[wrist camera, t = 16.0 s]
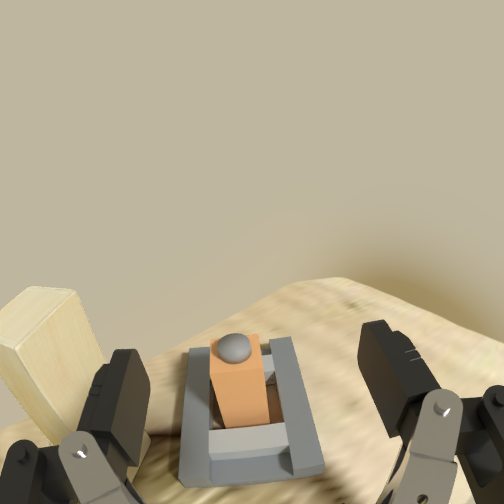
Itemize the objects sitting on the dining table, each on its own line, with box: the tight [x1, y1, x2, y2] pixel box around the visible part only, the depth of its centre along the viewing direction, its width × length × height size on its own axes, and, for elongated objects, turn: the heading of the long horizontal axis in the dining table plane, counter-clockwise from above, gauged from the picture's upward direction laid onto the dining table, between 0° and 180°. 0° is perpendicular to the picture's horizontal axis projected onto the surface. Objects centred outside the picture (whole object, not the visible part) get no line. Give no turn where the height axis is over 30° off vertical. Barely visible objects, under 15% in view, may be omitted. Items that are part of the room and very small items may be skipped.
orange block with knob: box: [210, 333, 270, 429], centre depth 32 cm, size 5×5×11 cm
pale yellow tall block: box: [0, 286, 151, 482], centre depth 24 cm, size 8×7×21 cm
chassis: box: [178, 337, 325, 487], centre depth 34 cm, size 20×14×2 cm
